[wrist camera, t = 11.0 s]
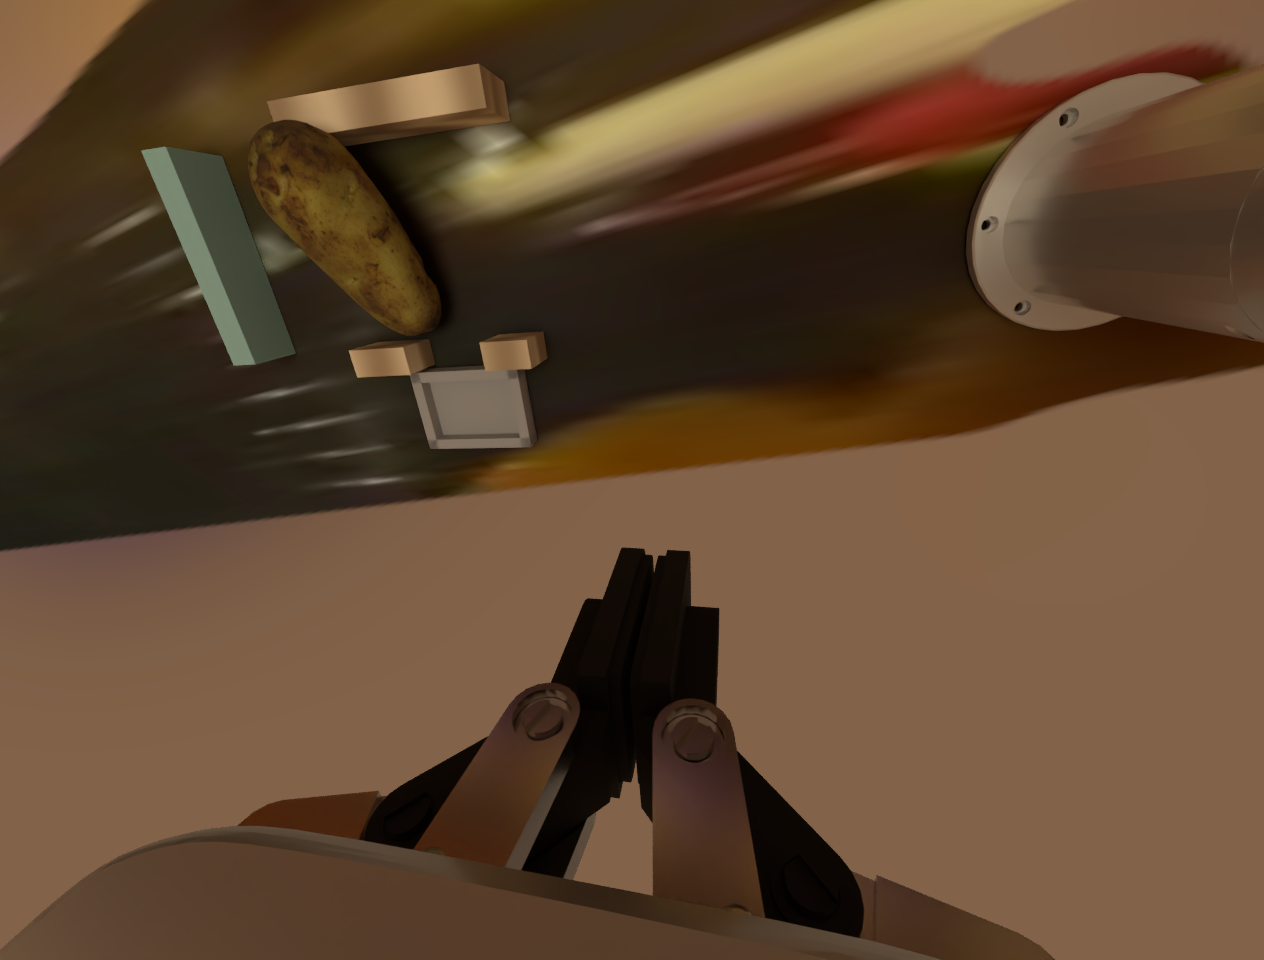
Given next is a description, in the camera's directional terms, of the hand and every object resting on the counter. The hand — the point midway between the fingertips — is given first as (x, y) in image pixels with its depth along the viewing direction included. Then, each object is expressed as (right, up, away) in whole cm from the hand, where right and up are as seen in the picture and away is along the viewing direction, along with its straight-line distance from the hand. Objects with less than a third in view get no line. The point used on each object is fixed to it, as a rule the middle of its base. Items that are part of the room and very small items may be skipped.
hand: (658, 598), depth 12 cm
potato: (-18, +20, +24) cm, 36 cm away
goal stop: (-30, +20, +26) cm, 45 cm away
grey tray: (-13, +9, +28) cm, 32 cm away
